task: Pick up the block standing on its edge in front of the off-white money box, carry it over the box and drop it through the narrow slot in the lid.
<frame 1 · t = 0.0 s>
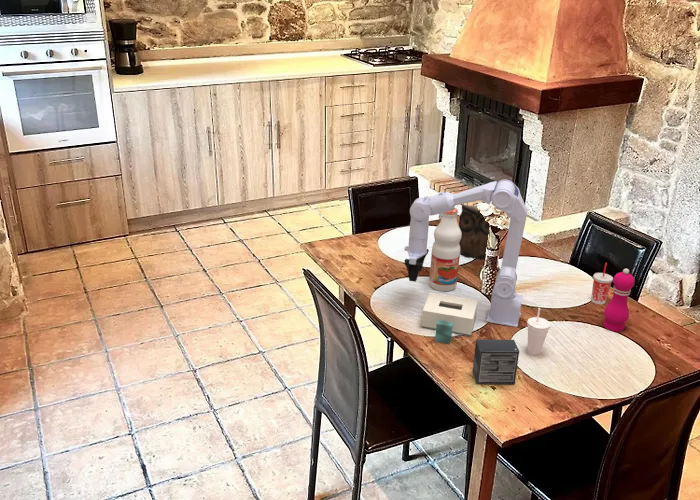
hand: (415, 275, 215), 10 cm above the table, tool pointing down, fingers open, 7 cm apart
small box: (493, 378, 183), on the table
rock: (477, 253, 257), on the table
smoothie: (533, 352, 196), on the table
block: (443, 340, 199), on the table
beverage cup: (598, 301, 225), on the table
pepper mill: (613, 327, 210), on the table
fruit juice: (442, 286, 231), on the table
money box: (448, 322, 209), on the table
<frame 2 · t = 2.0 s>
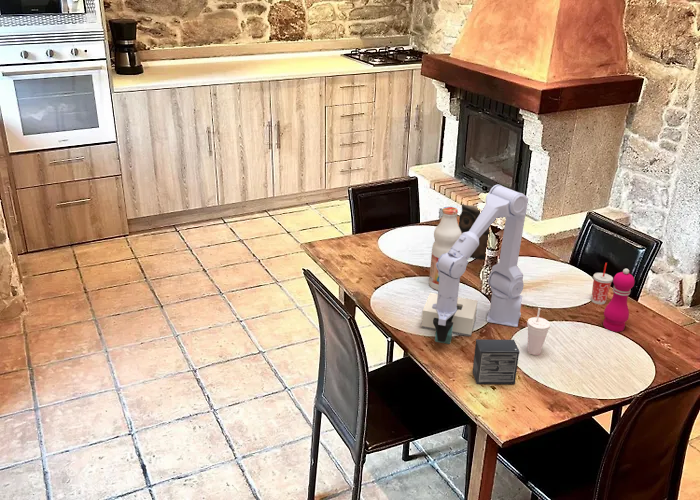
hand: (443, 334, 198), 2 cm above the table, tool pointing down, fingers open, 6 cm apart
nothing on the table moved.
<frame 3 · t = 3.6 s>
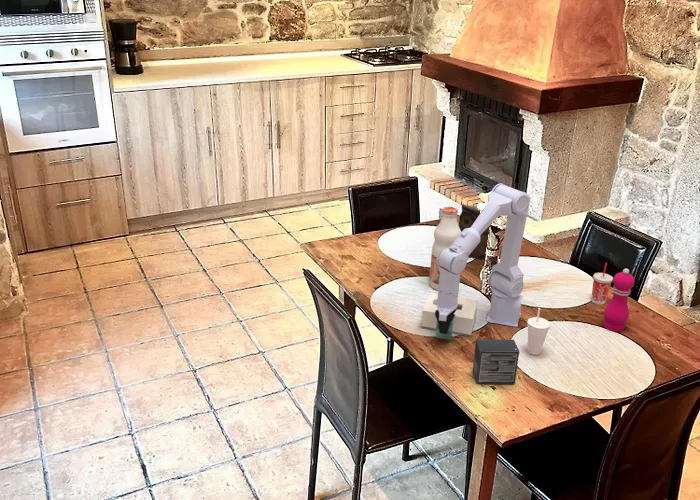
hand: (444, 330, 198), 3 cm above the table, tool pointing down, fingers closed on block, 2 cm apart
block: (443, 336, 199), point 1 cm above the table, touching gripper
everything else where it was.
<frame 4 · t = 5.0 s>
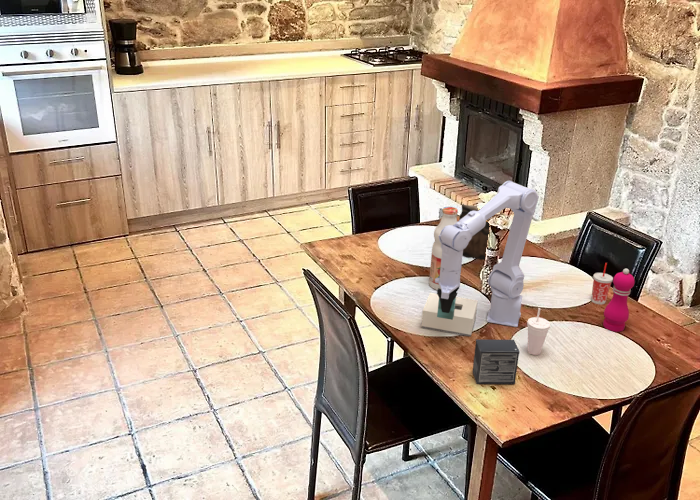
hand: (446, 309, 195), 10 cm above the table, tool pointing down, fingers closed on block, 2 cm apart
block: (445, 316, 196), point 8 cm above the table, touching gripper
everything else where it was.
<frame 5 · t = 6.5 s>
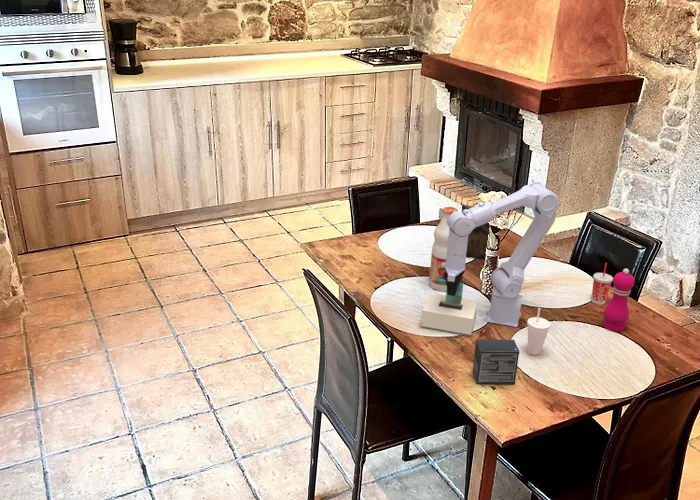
hand: (452, 292, 205), 10 cm above the table, tool pointing down, fingers closed on block, 2 cm apart
block: (453, 301, 206), point 8 cm above the table, touching gripper
everything else where it was.
when the fingers open (8 cm above the table, at t = 7.4 s): block drops 5 cm, resting on money box.
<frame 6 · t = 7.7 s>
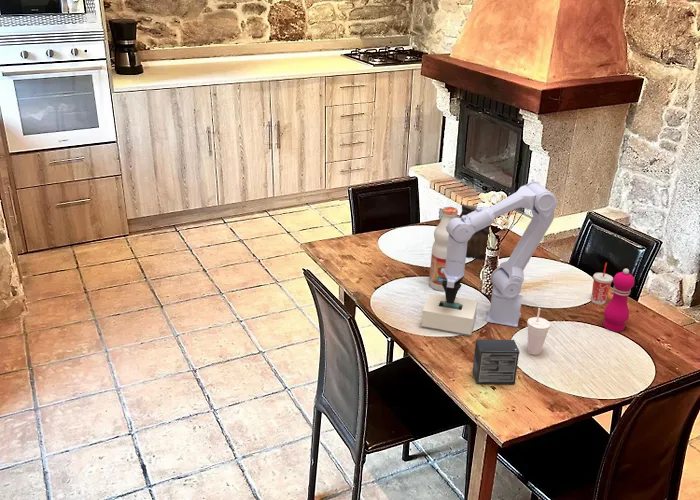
hand: (451, 298, 205), 8 cm above the table, tool pointing down, fingers open, 5 cm apart
block: (449, 320, 209), point 1 cm above the table, touching money box
everything else where it was.
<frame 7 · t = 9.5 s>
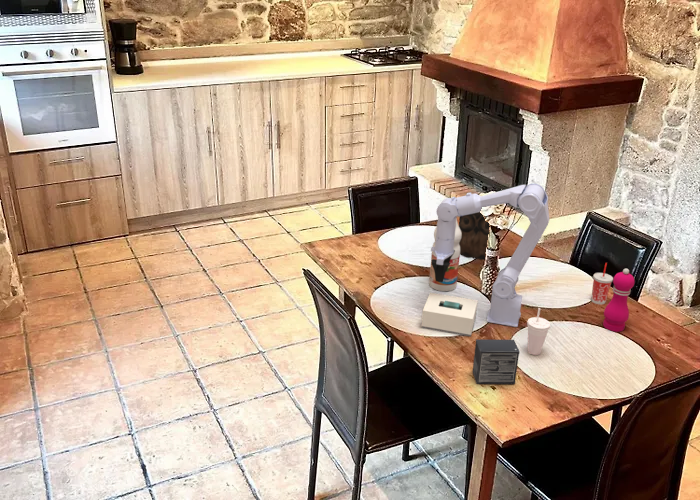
hand: (441, 276, 214), 10 cm above the table, tool pointing down, fingers open, 7 cm apart
nothing on the table moved.
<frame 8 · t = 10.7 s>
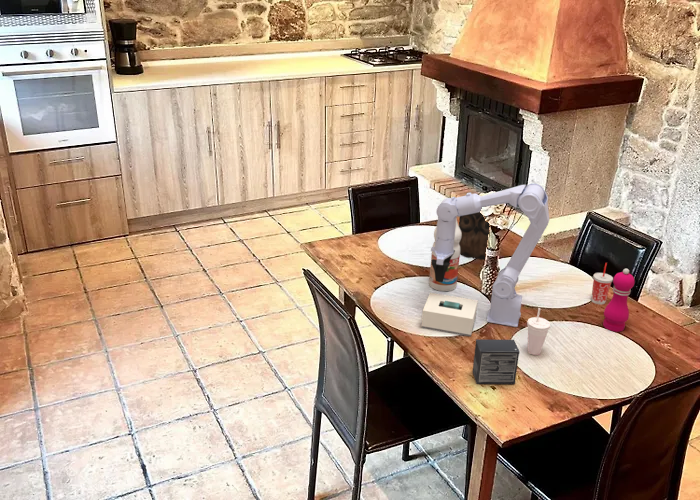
hand: (441, 276, 215), 10 cm above the table, tool pointing down, fingers open, 7 cm apart
nothing on the table moved.
at the end: block inside the target area on the money box (0.2 cm from its centre), point 0.6 cm above the money box's base; the gripper is holding nothing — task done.
